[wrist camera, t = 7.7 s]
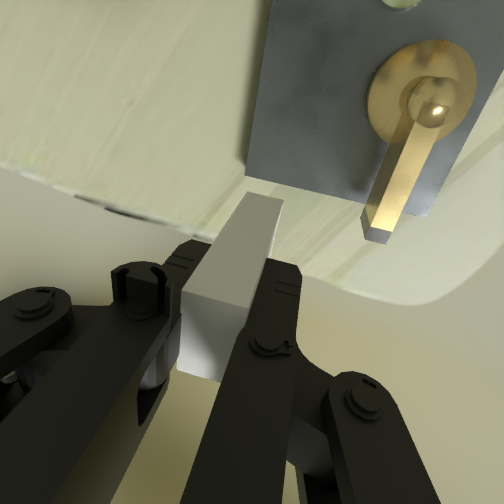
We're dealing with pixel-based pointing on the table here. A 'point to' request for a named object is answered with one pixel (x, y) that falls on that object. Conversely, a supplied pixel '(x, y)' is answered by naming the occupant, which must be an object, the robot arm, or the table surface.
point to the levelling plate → (357, 89)
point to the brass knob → (413, 121)
